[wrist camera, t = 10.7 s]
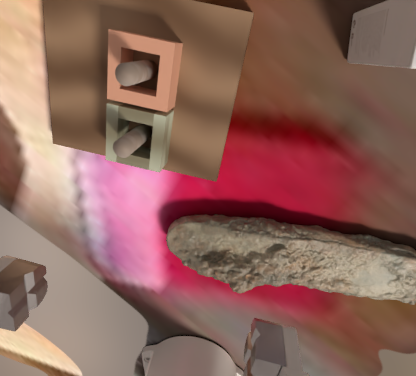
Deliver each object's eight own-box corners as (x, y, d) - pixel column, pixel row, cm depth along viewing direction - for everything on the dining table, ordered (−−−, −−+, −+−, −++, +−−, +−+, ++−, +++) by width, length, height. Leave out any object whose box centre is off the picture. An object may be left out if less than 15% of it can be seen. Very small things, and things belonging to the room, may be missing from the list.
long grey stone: (416, 294, 40) (447, 233, 36) (441, 326, 35) (480, 260, 31) (167, 260, 41) (171, 198, 37) (158, 286, 36) (161, 218, 32)
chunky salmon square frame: (182, 43, 27) (175, 43, 25) (174, 106, 30) (166, 112, 27) (122, 30, 28) (108, 29, 25) (120, 94, 30) (107, 98, 28)
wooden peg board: (217, 176, 35) (208, 207, 28) (60, 139, 36) (15, 161, 29) (253, 14, 27) (253, 3, 20) (50, -27, 28) (-14, -50, 21)
